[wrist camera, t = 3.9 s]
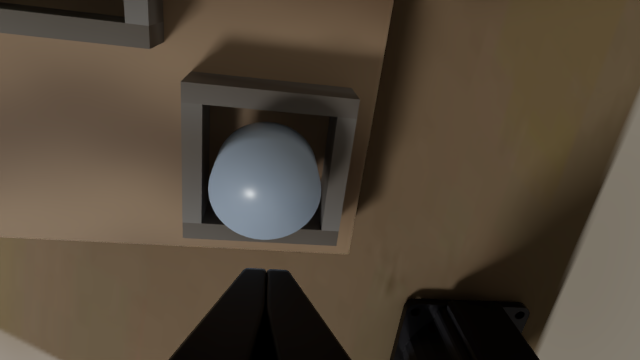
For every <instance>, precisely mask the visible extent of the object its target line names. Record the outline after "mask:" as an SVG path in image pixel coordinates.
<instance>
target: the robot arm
mask: <svg viewBox="0 0 640 360" xmlns="http://www.w3.org/2000/svg"><path fill="white" fill-rule="evenodd" d="M414 308H417V309H416V310H413V309H414ZM412 310H413V311H412ZM528 317H529V310H528V309H527V308H526V306H525V305H524V304H523V303H520V302H497V301H469V300H441V299H411V300H408V301H407V302H406V303H405V305H404V307H403V311H402V315H401V319H400V323H399V327H398V330H397V334H396V338H395V342H394V346H393V350H392V354H391V358H390V360H539V358H538V357H537V355H536V354H535V352H534V351H533V350H532V348H531V347H530V345H529V344H528V343H527V341H526V340H525V338H524V337H523V335H522V334H521V333H522V331H523V329H524V326H525V324H526V321H527V319H528ZM169 360H351V359H350V357H349V356H348V354H347V353H346V352H345V350H344V349H343V347H342V346H341V344H340V343H339V342H338V340H337V339H336V337H335V336H334V335H333V333H332V332H331V330H330V329H329V327H328V326H327V325H326V323H325V322H324V320H323V319H322V318H321V316H320V315H319V313H318V312H317V311H316V309H315V308H314V306H313V305H312V303H311V302H310V301H309V299H308V298H307V296H306V295H305V294H304V292H303V291H302V289H301V288H300V286H299V285H298V284H297V282H296V281H295V279H294V278H293V277H292V275H291V274H290V272H289V271H287V270H277V269H269V270H268V271H267V273H266V271H265V270H264V269H256V268H246V269H244V270H243V271H242V272H241V274H240V275H239V276H238V277H237V278H236V280H235V281H234V282H233V283H232V284H231V286H230V287H229V288H228V289H227V290H226V291H225V293H224V294H223V295H222V296H221V297H220V299H219V300H218V301H217V302H216V303H215V305H214V306H213V307H212V308H211V309H210V311H209V312H208V313H207V314H206V315H205V317H204V318H203V319H202V320H201V321H200V323H199V324H198V325H197V326H196V327H195V329H194V330H193V331H192V332H191V333H190V335H189V336H188V337H187V338H186V339H185V341H184V342H183V343H182V344H181V345H180V347H179V348H178V349H177V350H176V351H175V352H174V354H173V355H172V356H171V357H170V358H169Z"/></svg>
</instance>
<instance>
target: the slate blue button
mask: <svg viewBox="0 0 640 360" xmlns="http://www.w3.org/2000/svg"><path fill="white" fill-rule="evenodd" d="M208 193H209V199H210V203H211V206H212V208H213V210H214V212H215V214H216V215H217V217H218V218H219V219H220V220H221V221H222V222H223V223H224V224H225V225H226V226H227V227H228V228H230V229H231V230H233V231H234V232H236V233H238V234H240V235H243V236H245V237H248V238H253V239H260V240H270V239H278V238H282V237H285V236H288V235H290V234H292V233H294V232H296V231H298V230H299V229H301V228H302V227H303V226H304V225H306V224H307V223H308V222H309V220H310V219H311V218H312V217H313V215H314V214H315V212H316V210H317V208H318V205H319V202H320V198H321V182H320V177H319V173H318V168H317V164H316V159H315V155H314V153H313V150H312V148H311V147H310V145H309V143H308V142H307V141H306V139H305V138H304V137H303V136H302V135H300V134H299V133H298V132H297V131H295V130H293V129H292V128H290V127H288V126H285V125H283V124H279V123H274V122H256V123H252V124H249V125H246V126H243V127H241V128H240V129H238V130H236V131H235V132H233V133H232V134H231V135H230V136H229V137H228V138H227V139H226V140H225V142H224V143H223V144H222V146H221V148H220V150H219V153H218V155H217V158H216V161H215V164H214V166H213V169H212V172H211V175H210V179H209V185H208Z"/></svg>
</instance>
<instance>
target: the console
mask: <svg viewBox="0 0 640 360" xmlns="http://www.w3.org/2000/svg"><path fill="white" fill-rule="evenodd" d="M393 2H394V0H0V237H9V238H29V239H49V240H69V241H90V242H110V243H130V244H150V245H170V246H190V247H211V248H231V249H251V250H271V251H291V252H311V253H332V254H349V249H350V244H351V238H352V233H353V227H354V221H355V216H356V210H357V204H358V199H359V193H360V188H361V182H362V176H363V171H364V165H365V160H366V154H367V148H368V143H369V137H370V131H371V126H372V120H373V115H374V109H375V103H376V98H377V92H378V87H379V81H380V75H381V70H382V64H383V58H384V53H385V47H386V42H387V36H388V30H389V25H390V19H391V13H392V8H393ZM256 122H274V123H279V124H283V125H285V126H288V127H290V128H292V129H293V130H295V131H297V132H298V133H299V134H300V135H302V136H303V137H304V138H305V139H306V141H307V142H308V143H309V145H310V147H311V148H312V150H313V153H314V155H315V159H316V164H317V168H318V173H319V177H320V182H321V198H320V202H319V205H318V208H317V210H316V212H315V214H314V215H313V217H312V218H311V219H310V220H309V222H308V223H307V224H306V225H304V226H303V227H302V228H301V229H299V230H298V231H296V232H294V233H292V234H290V235H288V236H285V237H282V238H278V239H270V240H260V239H253V238H248V237H245V236H243V235H240V234H238V233H236V232H234V231H233V230H231V229H230V228H228V227H227V226H226V225H225V224H224V223H223V222H222V221H221V220H220V219H219V218H218V217H217V215H216V214H215V212H214V210H213V208H212V206H211V203H210V199H209V193H208V185H209V179H210V175H211V172H212V169H213V166H214V164H215V161H216V158H217V155H218V153H219V150H220V148H221V146H222V144H223V143H224V142H225V140H226V139H227V138H228V137H229V136H230V135H231V134H232V133H233V132H235V131H236V130H238V129H240V128H241V127H243V126H246V125H249V124H252V123H256Z"/></svg>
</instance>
